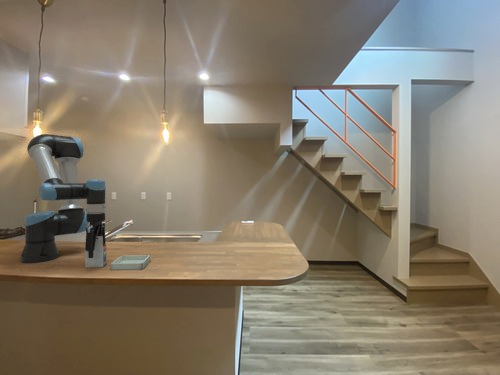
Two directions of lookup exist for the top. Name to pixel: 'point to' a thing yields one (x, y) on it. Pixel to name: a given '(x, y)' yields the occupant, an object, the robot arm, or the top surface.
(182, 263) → the top surface
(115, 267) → the tray
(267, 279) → the top surface
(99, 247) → the ink box
